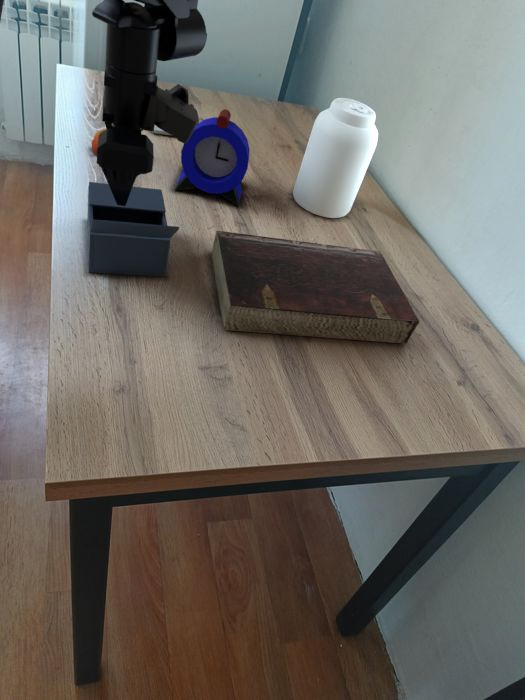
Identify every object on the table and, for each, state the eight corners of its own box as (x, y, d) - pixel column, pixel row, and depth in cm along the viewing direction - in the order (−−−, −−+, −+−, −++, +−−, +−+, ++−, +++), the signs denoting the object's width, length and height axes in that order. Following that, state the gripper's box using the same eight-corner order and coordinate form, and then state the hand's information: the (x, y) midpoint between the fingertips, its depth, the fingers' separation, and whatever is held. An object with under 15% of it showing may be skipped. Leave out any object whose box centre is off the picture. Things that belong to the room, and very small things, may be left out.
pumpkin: (132, 135, 108) (132, 118, 101) (136, 169, 108) (137, 155, 101) (91, 136, 106) (88, 119, 99) (95, 170, 106) (92, 156, 99)
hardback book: (369, 271, 97) (380, 248, 93) (405, 345, 84) (419, 321, 80) (211, 253, 88) (216, 227, 85) (223, 331, 76) (230, 304, 72)
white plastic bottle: (346, 195, 117) (382, 102, 103) (352, 225, 107) (392, 127, 94) (291, 181, 115) (320, 85, 101) (291, 211, 106) (324, 108, 92)
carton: (165, 276, 81) (171, 236, 76) (88, 272, 77) (89, 229, 73) (156, 228, 90) (161, 189, 85) (87, 222, 86) (88, 181, 81)
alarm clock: (173, 192, 99) (185, 111, 89) (184, 164, 108) (196, 87, 98) (238, 208, 101) (257, 130, 91) (243, 179, 110) (261, 105, 100)
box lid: (170, 236, 76) (170, 238, 76) (90, 229, 73) (90, 231, 73) (179, 226, 70) (179, 229, 70) (92, 219, 67) (92, 221, 67)
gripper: (207, 110, 58) (185, 233, 68) (194, 53, 71) (178, 163, 81) (99, 90, 55) (94, 222, 65) (106, 33, 68) (101, 151, 78)
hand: (122, 187), depth 72 cm, fingers open, 9 cm apart
